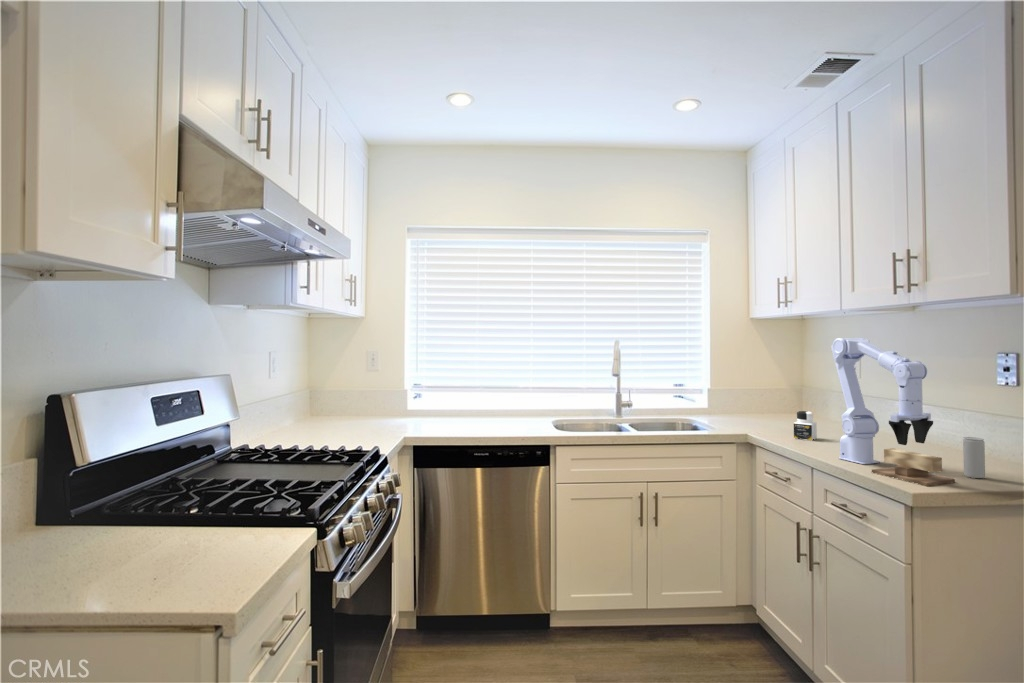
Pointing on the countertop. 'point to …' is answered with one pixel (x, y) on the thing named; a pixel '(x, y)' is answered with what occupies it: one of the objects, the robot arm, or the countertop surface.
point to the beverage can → (974, 457)
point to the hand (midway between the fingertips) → (911, 443)
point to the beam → (913, 460)
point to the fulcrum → (913, 475)
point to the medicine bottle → (805, 426)
